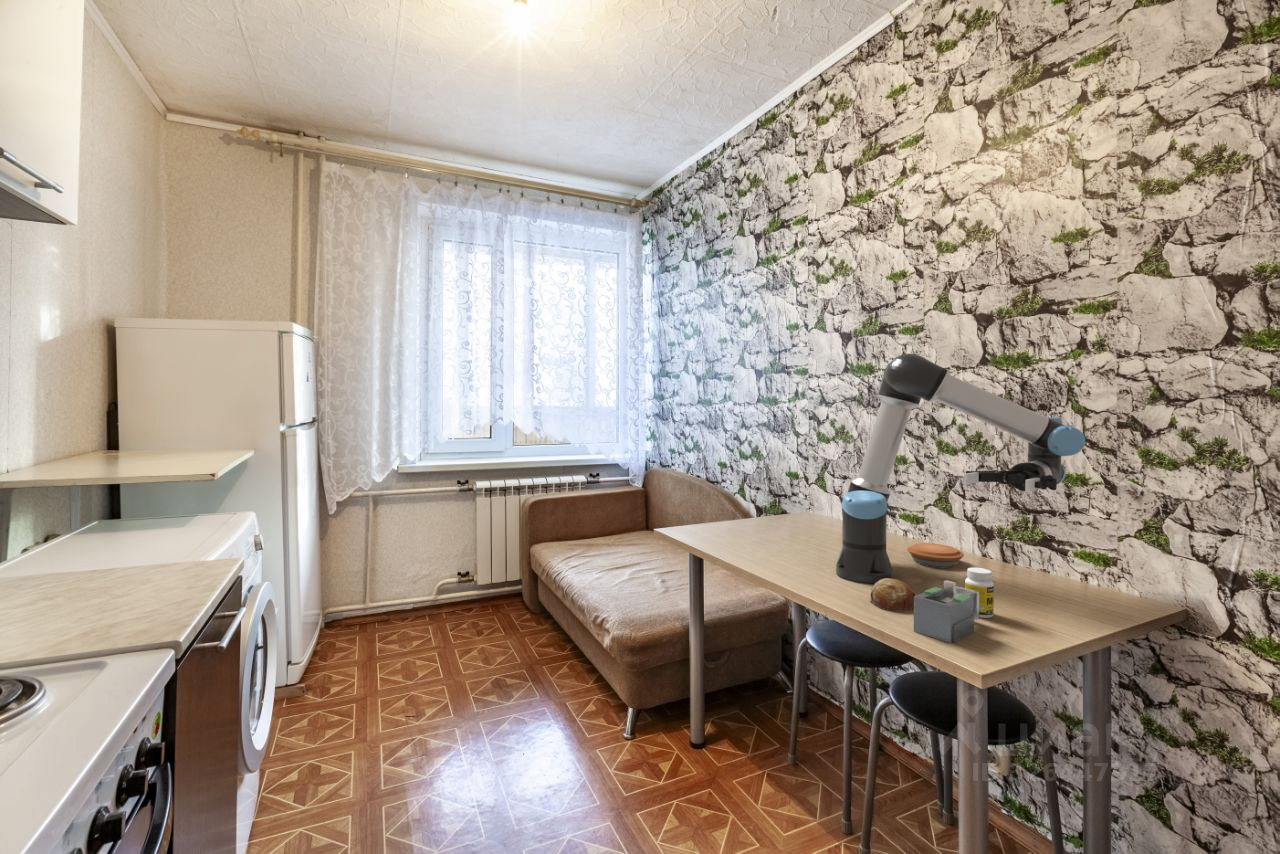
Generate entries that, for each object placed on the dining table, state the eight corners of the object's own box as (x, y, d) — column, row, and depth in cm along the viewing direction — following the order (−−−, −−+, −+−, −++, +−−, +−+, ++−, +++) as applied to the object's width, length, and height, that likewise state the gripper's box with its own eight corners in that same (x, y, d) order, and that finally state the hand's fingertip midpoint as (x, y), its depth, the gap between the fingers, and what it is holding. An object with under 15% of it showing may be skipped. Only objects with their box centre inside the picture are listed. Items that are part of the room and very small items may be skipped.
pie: (960, 573, 160) (960, 556, 159) (902, 564, 169) (902, 548, 169) (967, 561, 172) (967, 545, 172) (912, 553, 181) (912, 538, 181)
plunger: (955, 612, 126) (955, 572, 126) (978, 618, 122) (979, 577, 122) (933, 622, 120) (933, 580, 120) (957, 629, 116) (957, 586, 116)
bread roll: (871, 611, 140) (857, 582, 140) (908, 594, 140) (894, 565, 140) (887, 626, 130) (873, 596, 130) (927, 608, 130) (913, 577, 130)
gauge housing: (935, 620, 124) (936, 585, 124) (974, 631, 118) (974, 595, 117) (912, 630, 118) (913, 594, 118) (951, 643, 112) (952, 605, 112)
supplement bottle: (991, 620, 124) (991, 575, 123) (962, 614, 127) (962, 570, 127) (995, 613, 128) (996, 569, 128) (967, 607, 132) (967, 565, 132)
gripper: (1087, 496, 137) (1055, 505, 125) (978, 484, 157) (942, 491, 145) (1088, 466, 137) (1056, 472, 124) (979, 458, 157) (942, 462, 145)
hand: (994, 482), depth 135 cm, fingers open, 13 cm apart
